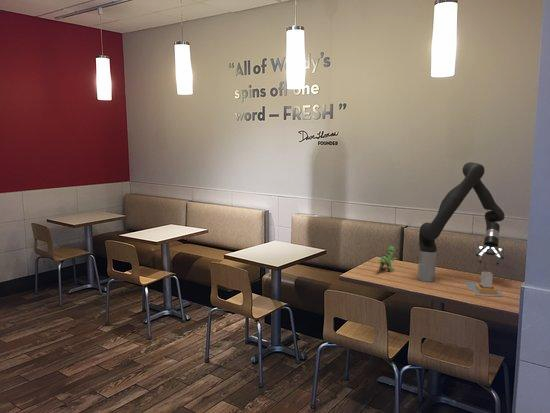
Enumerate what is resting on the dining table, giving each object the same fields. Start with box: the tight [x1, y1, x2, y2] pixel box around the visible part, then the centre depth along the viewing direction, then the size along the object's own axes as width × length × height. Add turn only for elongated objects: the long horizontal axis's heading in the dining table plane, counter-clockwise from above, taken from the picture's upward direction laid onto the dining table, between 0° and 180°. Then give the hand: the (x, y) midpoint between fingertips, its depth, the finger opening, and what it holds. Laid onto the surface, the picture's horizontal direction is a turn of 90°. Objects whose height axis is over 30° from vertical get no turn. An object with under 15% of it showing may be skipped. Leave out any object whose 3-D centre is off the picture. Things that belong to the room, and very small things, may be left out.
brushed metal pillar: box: [480, 271, 494, 289], centre depth 264 cm, size 4×4×10 cm
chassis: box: [464, 281, 503, 298], centre depth 269 cm, size 14×22×4 cm, turn 174°
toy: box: [378, 245, 397, 273], centre depth 303 cm, size 12×21×15 cm, turn 172°
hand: (488, 263), depth 272 cm, fingers open, 8 cm apart
